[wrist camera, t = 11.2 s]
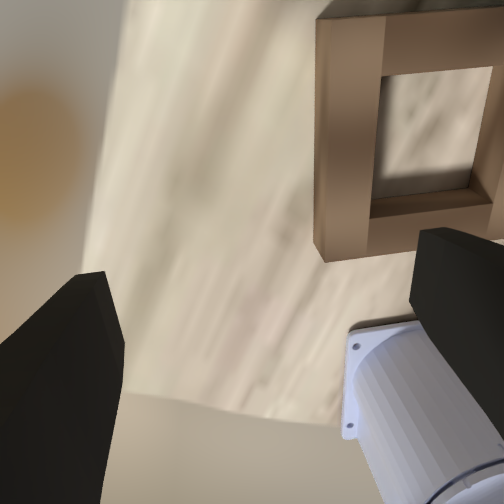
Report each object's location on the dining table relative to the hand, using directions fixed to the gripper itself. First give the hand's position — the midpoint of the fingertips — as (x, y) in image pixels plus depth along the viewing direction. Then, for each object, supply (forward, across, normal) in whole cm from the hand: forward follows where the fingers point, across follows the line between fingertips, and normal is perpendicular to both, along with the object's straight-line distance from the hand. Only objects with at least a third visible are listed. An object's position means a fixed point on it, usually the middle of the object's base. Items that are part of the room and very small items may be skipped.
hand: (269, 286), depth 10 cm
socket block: (+10, -9, 0) cm, 14 cm away
